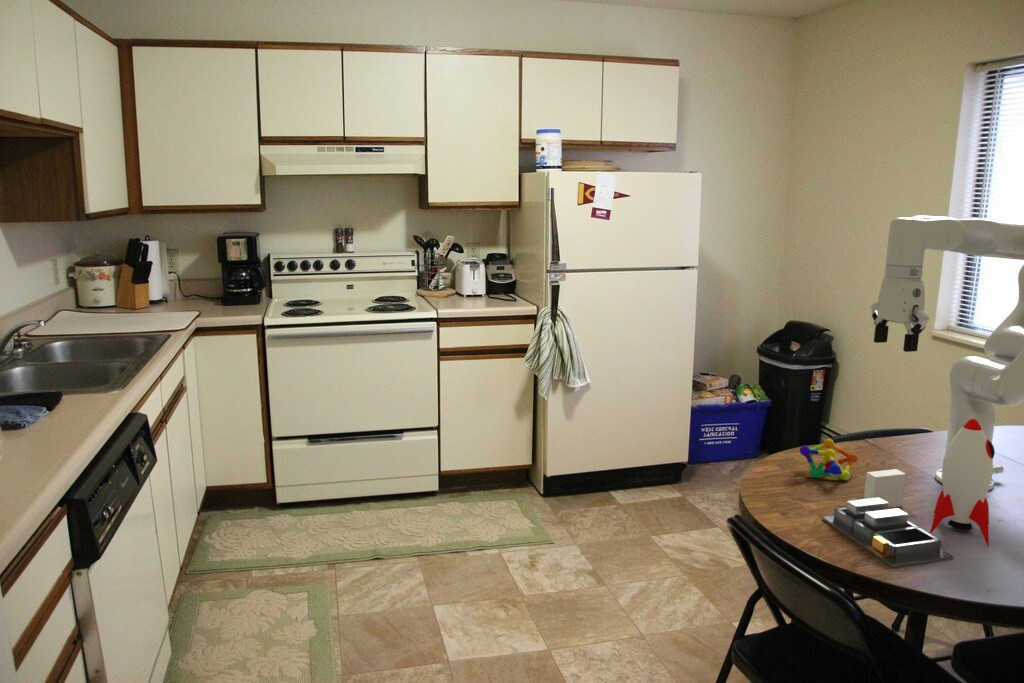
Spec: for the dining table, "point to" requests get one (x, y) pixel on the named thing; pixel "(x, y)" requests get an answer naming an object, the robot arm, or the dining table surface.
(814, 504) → the dining table surface
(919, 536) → the rack
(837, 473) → the decorative model
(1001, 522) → the dining table surface
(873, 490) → the block
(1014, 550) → the dining table surface
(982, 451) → the rocket
